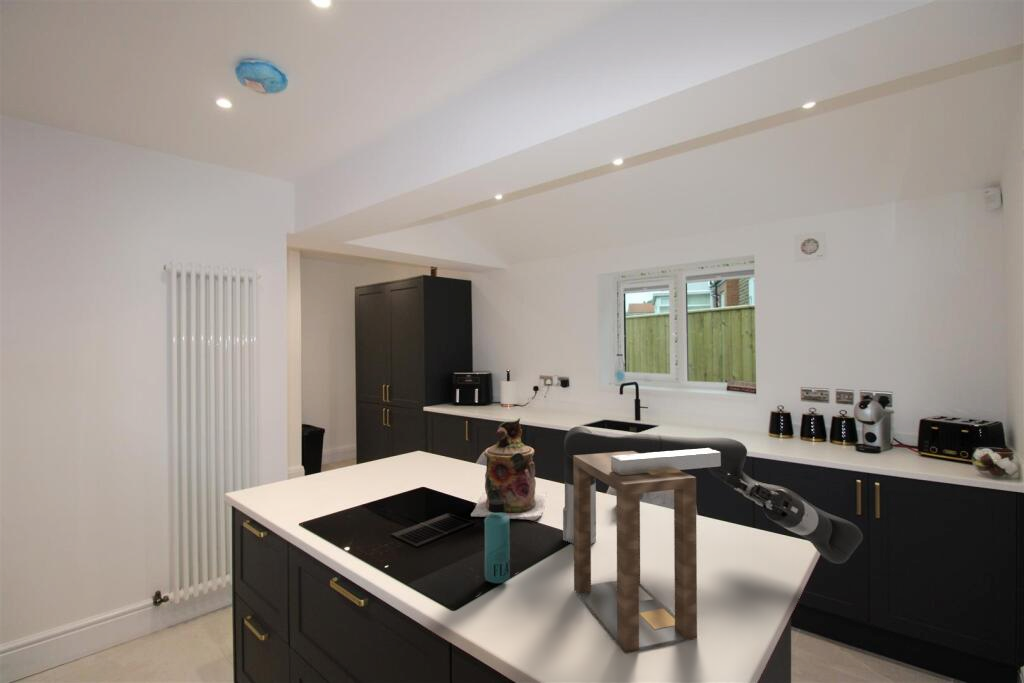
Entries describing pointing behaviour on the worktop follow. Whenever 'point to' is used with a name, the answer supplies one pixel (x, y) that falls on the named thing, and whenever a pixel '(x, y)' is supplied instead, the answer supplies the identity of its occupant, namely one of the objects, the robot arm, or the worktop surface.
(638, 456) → the gray rectangular block
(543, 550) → the worktop surface
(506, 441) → the cookie jar
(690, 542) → the switch shelf
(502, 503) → the beverage bottle
